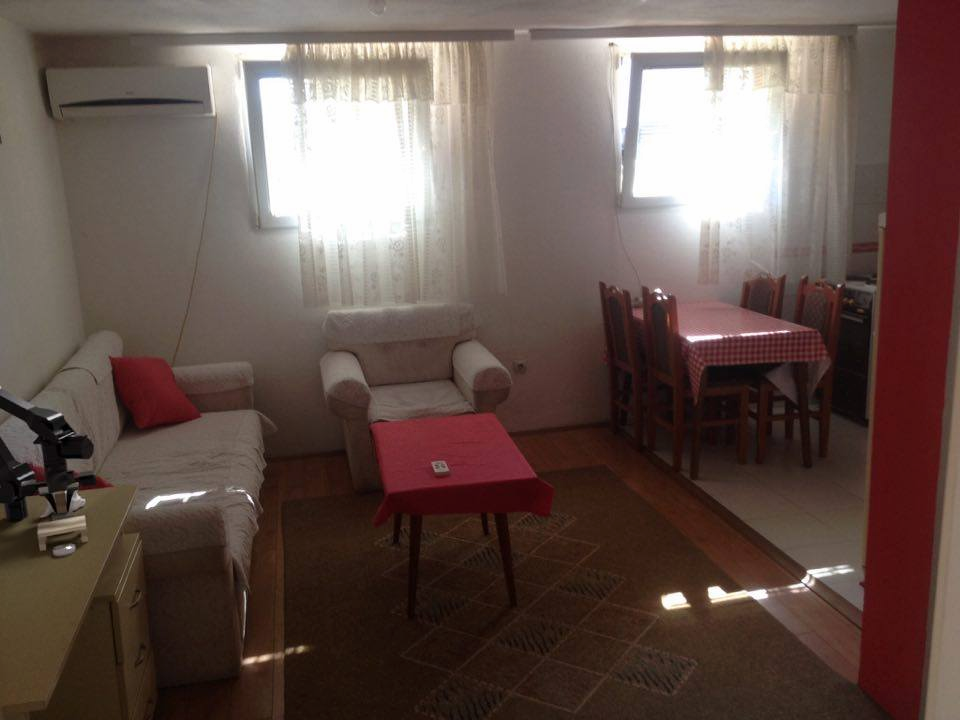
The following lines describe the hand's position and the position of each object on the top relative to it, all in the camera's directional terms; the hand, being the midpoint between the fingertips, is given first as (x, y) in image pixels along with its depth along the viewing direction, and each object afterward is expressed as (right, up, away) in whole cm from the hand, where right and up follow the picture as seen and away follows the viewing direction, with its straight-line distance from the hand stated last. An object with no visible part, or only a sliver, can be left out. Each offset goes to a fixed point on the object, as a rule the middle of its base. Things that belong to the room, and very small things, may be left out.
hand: (62, 512), depth 231 cm
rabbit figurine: (-3, -1, +7) cm, 8 cm away
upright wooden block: (+2, -2, -4) cm, 5 cm away
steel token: (+12, -6, -23) cm, 27 cm away
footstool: (+9, -4, -16) cm, 19 cm away
